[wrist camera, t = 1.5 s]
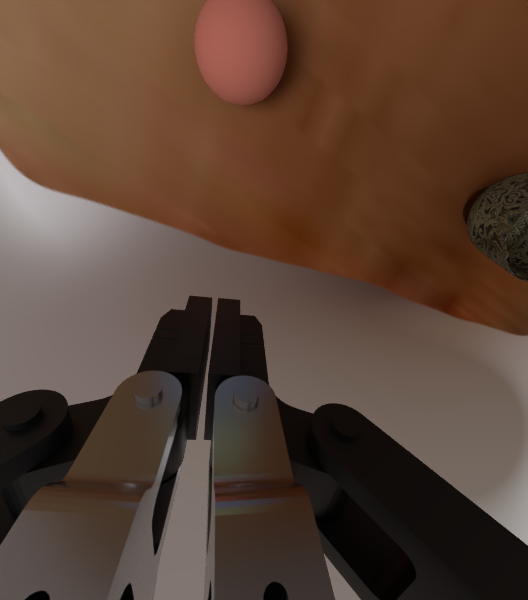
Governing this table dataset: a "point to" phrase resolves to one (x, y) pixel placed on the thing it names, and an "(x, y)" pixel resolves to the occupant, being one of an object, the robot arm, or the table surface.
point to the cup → (501, 223)
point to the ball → (241, 48)
